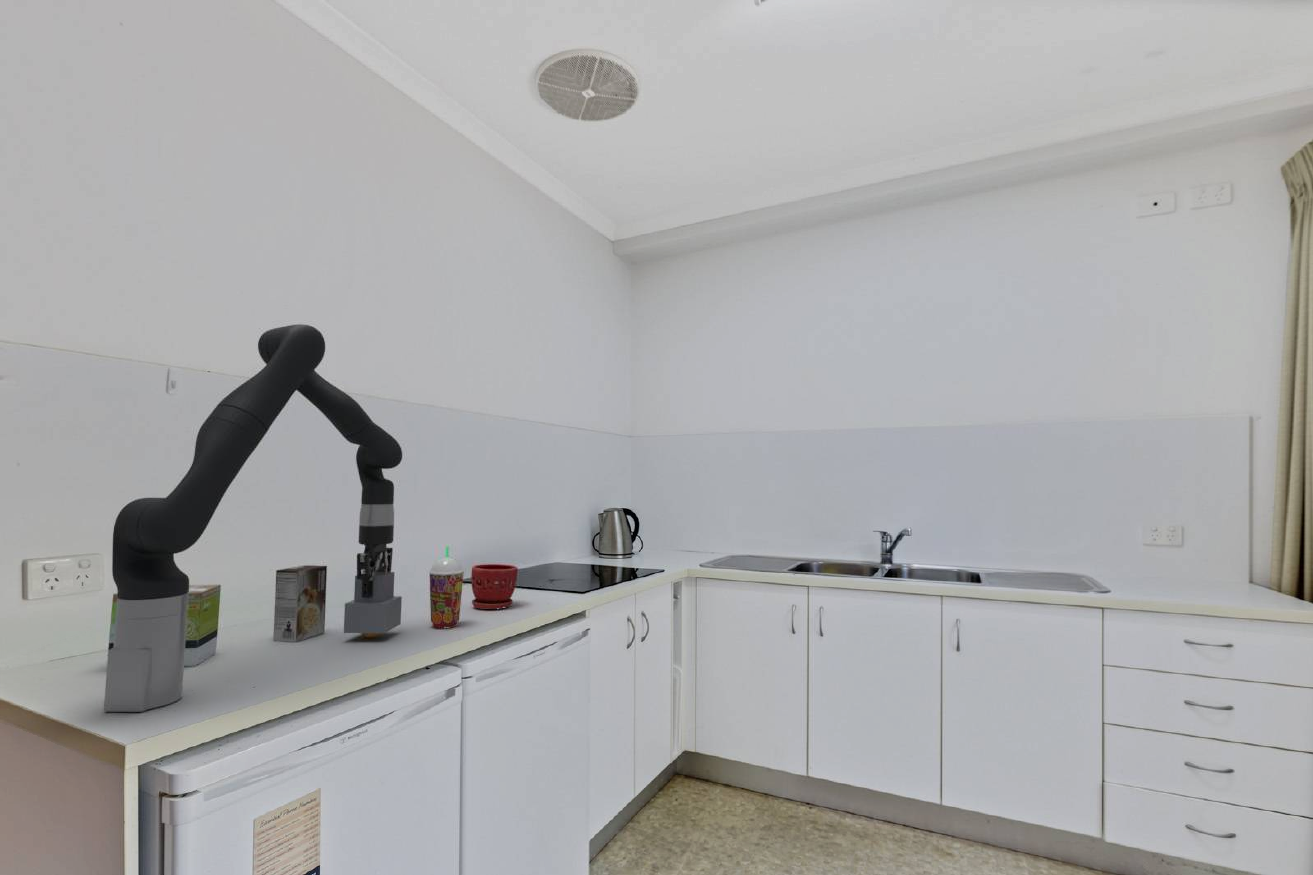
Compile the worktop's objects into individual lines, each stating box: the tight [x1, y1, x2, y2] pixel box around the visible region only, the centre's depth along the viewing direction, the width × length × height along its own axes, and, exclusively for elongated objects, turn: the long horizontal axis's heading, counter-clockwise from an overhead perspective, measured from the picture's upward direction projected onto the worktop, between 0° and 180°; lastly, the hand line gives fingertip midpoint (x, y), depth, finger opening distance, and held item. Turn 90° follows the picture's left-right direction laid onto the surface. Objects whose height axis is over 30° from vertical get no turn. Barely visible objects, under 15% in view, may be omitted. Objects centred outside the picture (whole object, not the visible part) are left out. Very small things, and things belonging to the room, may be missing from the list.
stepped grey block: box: [343, 571, 403, 634], centre depth 146 cm, size 9×9×13 cm
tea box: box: [107, 584, 222, 668], centre depth 125 cm, size 15×10×15 cm, turn 105°
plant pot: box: [470, 563, 518, 610], centre depth 183 cm, size 13×13×12 cm
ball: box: [362, 633, 381, 638], centre depth 146 cm, size 5×5×5 cm
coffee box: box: [272, 564, 328, 643], centre depth 146 cm, size 9×6×16 cm
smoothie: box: [428, 545, 465, 629], centre depth 158 cm, size 8×8×20 cm
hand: (373, 594), depth 146 cm, fingers closed on stepped grey block, 6 cm apart
